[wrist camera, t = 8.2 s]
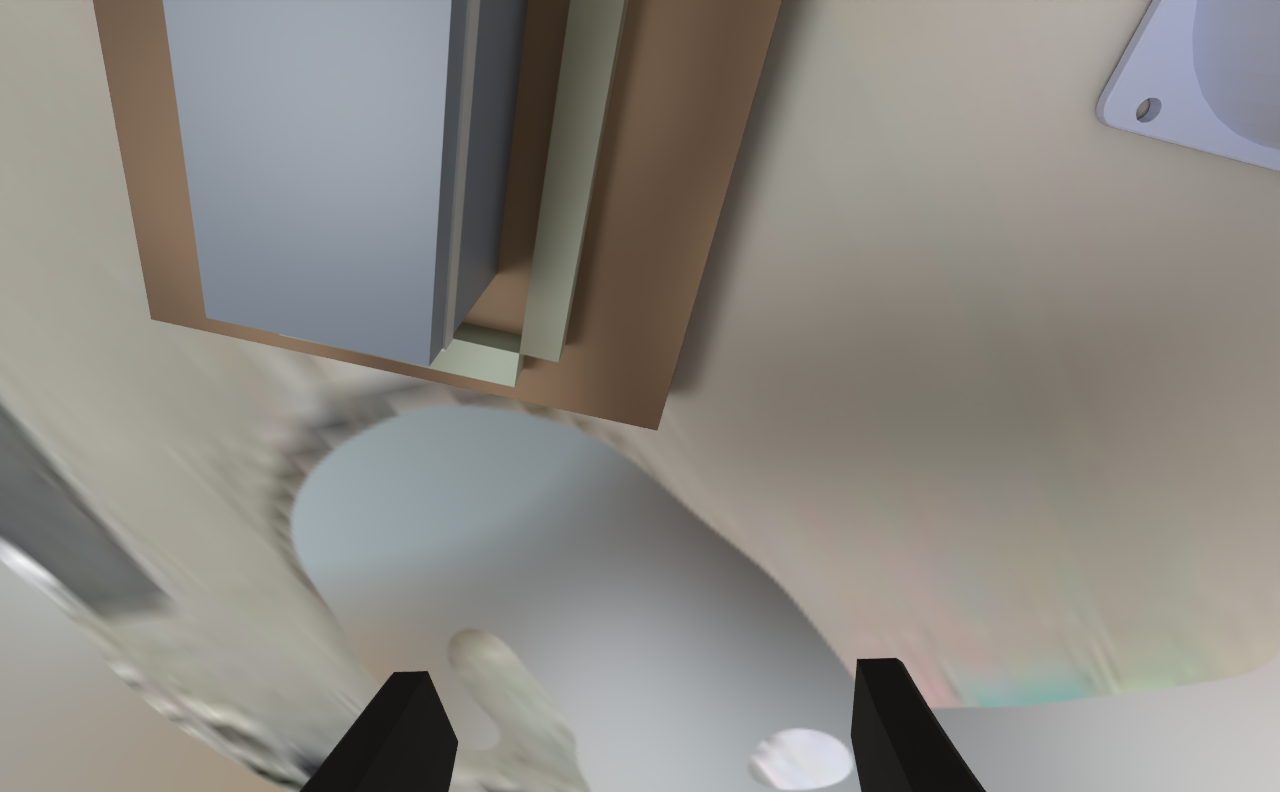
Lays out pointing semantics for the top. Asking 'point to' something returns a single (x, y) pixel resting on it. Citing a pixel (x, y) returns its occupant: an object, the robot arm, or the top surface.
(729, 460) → the top surface
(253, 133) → the blue-grey lidded box
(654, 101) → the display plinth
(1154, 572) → the top surface
